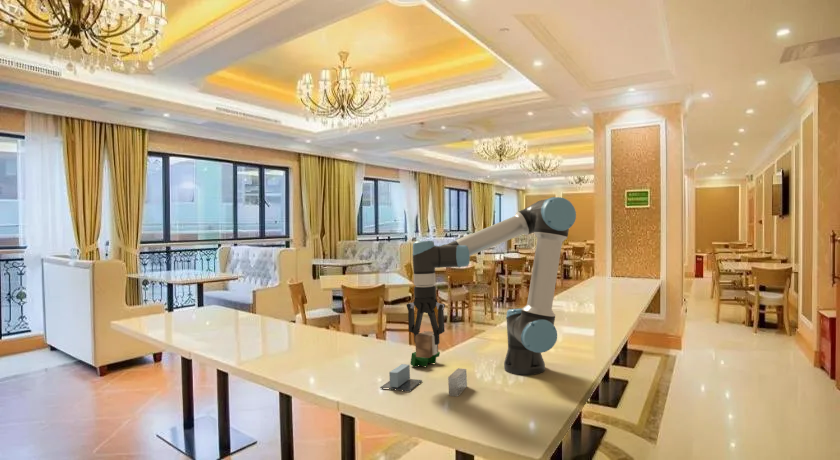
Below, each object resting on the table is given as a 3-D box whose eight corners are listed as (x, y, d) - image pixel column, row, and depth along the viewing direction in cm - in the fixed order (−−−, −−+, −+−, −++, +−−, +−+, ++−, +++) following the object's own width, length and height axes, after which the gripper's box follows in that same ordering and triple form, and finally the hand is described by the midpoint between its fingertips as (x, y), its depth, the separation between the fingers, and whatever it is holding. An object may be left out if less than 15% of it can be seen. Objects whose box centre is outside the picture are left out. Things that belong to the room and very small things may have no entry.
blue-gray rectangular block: (410, 378, 163) (409, 364, 163) (397, 387, 154) (397, 372, 154) (402, 377, 164) (401, 364, 164) (389, 386, 155) (389, 372, 155)
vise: (467, 386, 155) (466, 368, 155) (457, 397, 145) (456, 378, 145) (394, 379, 166) (393, 362, 166) (380, 388, 156) (379, 371, 156)
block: (438, 351, 157) (437, 331, 157) (429, 357, 150) (428, 336, 150) (425, 350, 159) (424, 331, 159) (416, 356, 152) (415, 336, 152)
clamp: (423, 379, 179) (419, 361, 175) (412, 372, 183) (408, 355, 179) (442, 361, 186) (439, 344, 182) (431, 355, 190) (429, 338, 186)
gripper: (453, 284, 155) (455, 352, 155) (405, 284, 162) (408, 349, 162) (445, 287, 148) (448, 358, 148) (396, 286, 155) (398, 354, 155)
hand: (427, 353), depth 155 cm, fingers closed on block, 5 cm apart
